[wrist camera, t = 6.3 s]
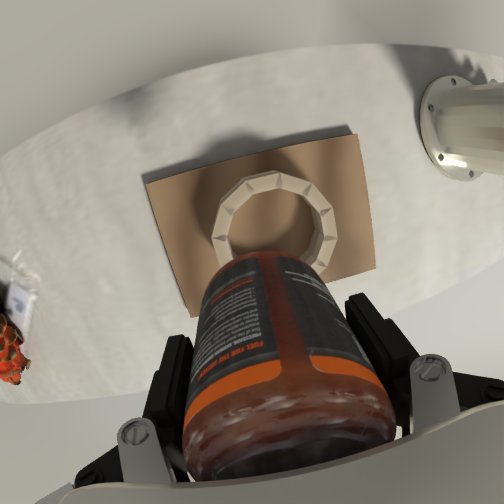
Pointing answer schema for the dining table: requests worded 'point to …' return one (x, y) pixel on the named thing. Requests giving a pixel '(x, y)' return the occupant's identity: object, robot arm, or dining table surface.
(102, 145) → the dining table surface
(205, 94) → the dining table surface
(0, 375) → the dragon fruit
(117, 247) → the dining table surface
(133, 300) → the dining table surface
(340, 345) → the supplement bottle
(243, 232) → the socket board
